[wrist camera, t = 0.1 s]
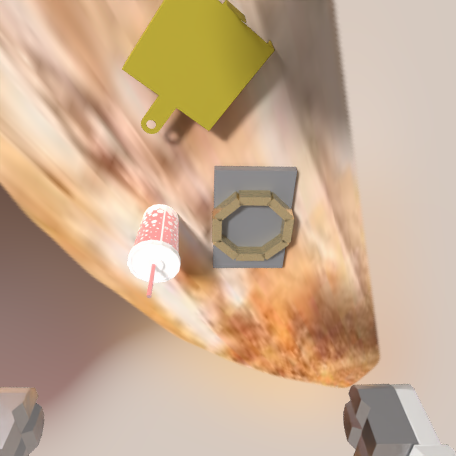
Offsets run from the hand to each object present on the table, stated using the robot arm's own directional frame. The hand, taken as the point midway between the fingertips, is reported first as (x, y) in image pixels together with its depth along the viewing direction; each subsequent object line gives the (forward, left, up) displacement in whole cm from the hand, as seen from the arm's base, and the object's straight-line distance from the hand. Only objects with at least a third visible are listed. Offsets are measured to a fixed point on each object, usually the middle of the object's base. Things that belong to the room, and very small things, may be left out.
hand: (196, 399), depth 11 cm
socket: (+23, +6, -38) cm, 45 cm away
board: (+23, +6, -39) cm, 46 cm away
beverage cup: (+23, -6, -39) cm, 46 cm away
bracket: (+3, -2, -40) cm, 40 cm away
